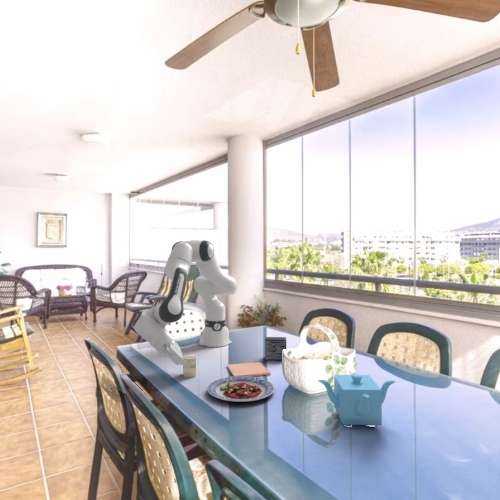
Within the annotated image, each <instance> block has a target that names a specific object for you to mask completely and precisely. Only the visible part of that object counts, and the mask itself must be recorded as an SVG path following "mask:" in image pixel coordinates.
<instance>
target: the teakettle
mask: <svg viewBox="0 0 500 500" xmlns="http://www.w3.org/2000/svg"><path fill="white" fill-rule="evenodd" d="M317 382H319V383H320V384H322V385H324V387H325V388H326V392H327V395H328V398H329V401H330V402H331V403H332V404H333V407H334V409H335V411H336V414H337V415H338V418H339V420H340V422H341V425H342V426H343V425H346V426H351V425H353V426H366V425H375V426H382V413H383V412H382V407H383V405H382V404H384V402H385V400H386V396H387V393H388V389H389V388H390V386H391V385H393V384H395V383H396V382H397V381H396V380H386V381H384V382H383V384H382V385H381V387H380V386H379V385H378V384H377V383H376V381H375V380H374V379H373V378H372V376H370V374H357V373H355V374H334V375H333V387H332V384H331V383H330V382H329V381H328V380H325V379H318V380H317Z"/></svg>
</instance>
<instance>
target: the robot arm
mask: <svg viewBox="0 0 500 500" xmlns="http://www.w3.org/2000/svg"><path fill="white" fill-rule="evenodd" d="M192 263H195V265H196V266H197V269H198V272H199V274H200V275H201V276H198V277H196V278H195V280H194V282H193V287H194V290H195V292H196V294H197V293H198V294H199V296H200V297H201V299H202V301H203V303H204V309H205V311H204V312H205V319H204V328H203V330H202V331H200V336H201V337H200V339H199V342H198V346H205V347H207V348H208V347H209V348H220V347H225V346H227V345H230V344H233V342H232V340H231V339H230V334H229V333H230V332H229V328H228V327H227V326H226V325H227V319H226V306H225V304H224V302H222V301H220V300H219V299H218V297H217V296H231V295H234V294H235V293H236V291H237V289H238V283H237V280H236V278H234V277H232V276H231V275H229V274H228V273H226V272H225V271H224V270H223V269H222V267H220V265H219V262H218V259H217V258H216V254H215V248H214V245H213V244H212V242H211V241H209V240H204V239H203V240H198V239H197V240H195V239H194V240H193V239H192V240H184V241H182V240H181V241H177V242H175V243H174V244H173V245H172V246H171V251H170V253H169V256H168V258H167V262H166V264H165V271H164V274H165V276H166V277H167V278H168V280H171V283H170V288H169V291H168V295H167V296H166V298H165V299H164V300H163V301H162V302H160V303H158V304H157V305H154V306H153V307H152V308H148V309H145V310H141V311H139V312H138V313H137V315H136V316H135V318H134V319H133V320H132V328H133V329H134V330H135V332H136V333H137V334H138V335H139V336H140V337H141V338H142V339H143V340H145V341H147V342H148V343H149V345H150V347H152V348H153V349H154V350H155V351H156V352H157V353H159V354H161V353H164V354H165V355H166V356H167V357H168V358H169V359H170V360H171V361H172V362H173V363H174V364H175V365H176V366H180V365H181V366H182V367H183V366H184V367H186V368H188V367H189V364H188V363H187V362H186V361H185V360H184V358H183V356H185V354H184V353H183V351H182V350H181V347H180V345H179V344H178V343H177V342H176V341H175V336H174V335H173V334H172V333H170V332H169V331H168V330H167V329H166V326H168V325H170V324H172V323H177V322H178V321H179V320H180V319H181V318H182V317H183V315H184V311H185V310H184V295H185V292H186V288H187V287H186V286H187V282H188V275H189V273H190V270H191V265H192Z"/></svg>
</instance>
